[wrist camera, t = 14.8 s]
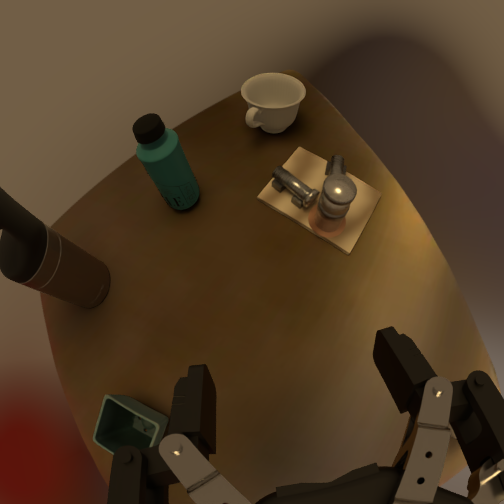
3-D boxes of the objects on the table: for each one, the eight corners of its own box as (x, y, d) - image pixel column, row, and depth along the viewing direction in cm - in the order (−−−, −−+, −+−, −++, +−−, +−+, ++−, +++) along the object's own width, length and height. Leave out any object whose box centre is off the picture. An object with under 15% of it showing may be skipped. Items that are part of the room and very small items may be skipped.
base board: (256, 200, 47) (256, 197, 46) (298, 150, 51) (299, 146, 50) (347, 256, 43) (349, 254, 42) (380, 196, 46) (382, 193, 45)
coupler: (308, 223, 44) (317, 190, 35) (322, 202, 45) (333, 167, 36) (332, 238, 43) (348, 208, 34) (345, 217, 44) (362, 184, 35)
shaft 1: (318, 200, 46) (321, 187, 42) (304, 213, 45) (307, 201, 41) (283, 173, 48) (284, 159, 44) (269, 184, 47) (269, 171, 44)
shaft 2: (340, 204, 45) (345, 192, 42) (320, 199, 46) (323, 187, 42) (344, 169, 48) (349, 156, 44) (326, 164, 48) (329, 151, 45)
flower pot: (133, 387, 38) (104, 392, 29) (181, 411, 36) (160, 425, 28) (120, 428, 35) (91, 440, 26) (165, 454, 33) (143, 473, 25)
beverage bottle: (201, 181, 50) (171, 99, 31) (203, 212, 47) (168, 132, 29) (168, 188, 50) (126, 112, 31) (168, 219, 47) (118, 146, 29)
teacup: (225, 140, 53) (218, 104, 43) (263, 101, 57) (261, 67, 47) (278, 162, 50) (279, 125, 41) (311, 119, 54) (315, 83, 45)
